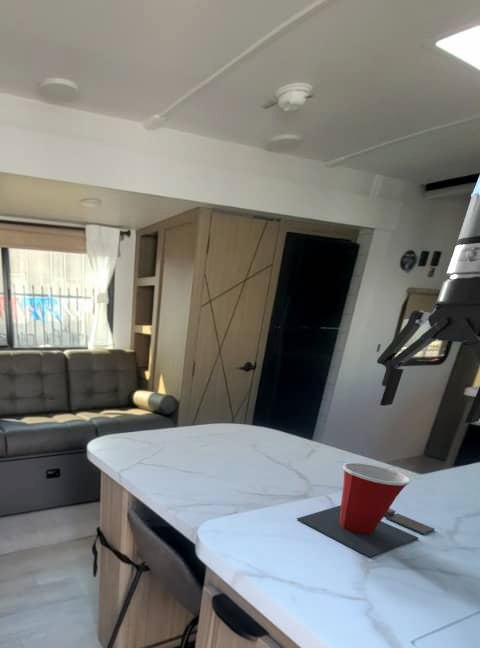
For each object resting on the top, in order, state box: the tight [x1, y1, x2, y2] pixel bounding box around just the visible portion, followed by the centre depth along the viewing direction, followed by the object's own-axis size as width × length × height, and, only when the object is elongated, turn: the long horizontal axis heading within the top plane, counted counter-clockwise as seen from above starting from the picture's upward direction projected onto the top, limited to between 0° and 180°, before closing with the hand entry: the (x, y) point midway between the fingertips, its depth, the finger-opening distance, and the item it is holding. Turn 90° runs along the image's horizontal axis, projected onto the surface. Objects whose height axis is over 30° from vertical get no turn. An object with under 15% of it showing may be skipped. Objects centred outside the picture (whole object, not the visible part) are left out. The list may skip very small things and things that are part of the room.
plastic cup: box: [340, 462, 412, 535], centre depth 77 cm, size 11×11×12 cm
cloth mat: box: [296, 504, 419, 559], centre depth 79 cm, size 15×15×1 cm
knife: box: [384, 508, 435, 536], centre depth 85 cm, size 16×4×1 cm, turn 27°
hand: (425, 412), depth 72 cm, fingers open, 13 cm apart
